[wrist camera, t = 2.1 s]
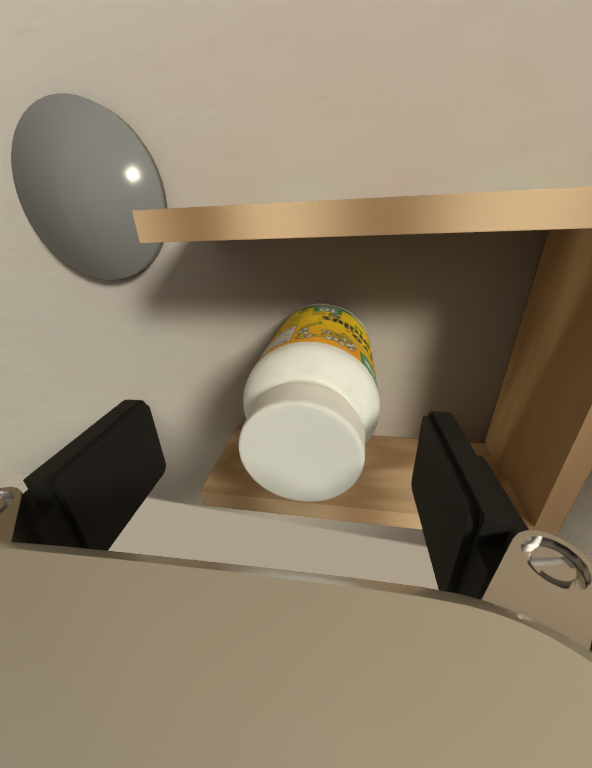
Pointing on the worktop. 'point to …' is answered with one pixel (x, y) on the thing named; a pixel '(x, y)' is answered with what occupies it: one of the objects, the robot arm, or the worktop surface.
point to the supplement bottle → (311, 406)
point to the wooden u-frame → (523, 375)
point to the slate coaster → (86, 185)
